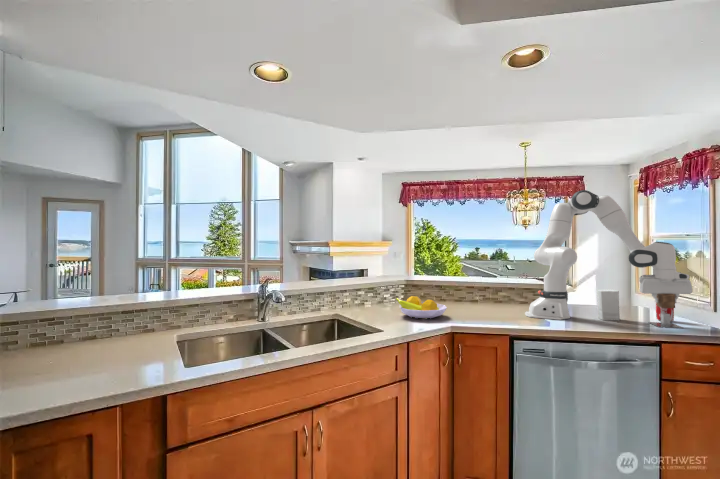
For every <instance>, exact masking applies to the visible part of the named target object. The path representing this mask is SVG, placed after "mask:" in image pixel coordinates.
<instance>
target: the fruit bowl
mask: <svg viewBox="0 0 720 479" xmlns="http://www.w3.org/2000/svg"><path fill="white" fill-rule="evenodd" d="M395 300H396V301H397V302H398V304H399V309H400V311H401V313H402V314H403V315H406V316H408V317H409V318H412V317H415V318H414V319H418V318H430V319H433V318H436V317H440V316H442V315H443V314H444V313H445V312H446V311H447V309H448V308H447V306H446V305H445V304H442V303H441V304H440V303H437V302H436V301H434V300H432V299H429V298H428V299H426V300H425V301H423V302H422V299H421V298H420V297H419V296H417V295H415V296H414V295H411V296H410V297H408V298H407V299H406V301H405V300H401V299H399V298H398V297H396V298H395Z"/></svg>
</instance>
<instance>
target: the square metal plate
mask: <svg viewBox="0 0 720 479" xmlns="http://www.w3.org/2000/svg"><path fill="white" fill-rule="evenodd" d="M648 324H651V325H653V326H654V327H657V328H663V327H665V328H666V329H668V328H669V329H681V330H682V329H685V327H683V326H680V325H678V324H676V323H673V322H670V314H668V313H661V321H659V322H655V321H653V322H652V321H648Z"/></svg>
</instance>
